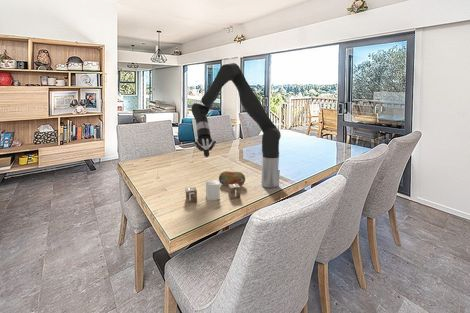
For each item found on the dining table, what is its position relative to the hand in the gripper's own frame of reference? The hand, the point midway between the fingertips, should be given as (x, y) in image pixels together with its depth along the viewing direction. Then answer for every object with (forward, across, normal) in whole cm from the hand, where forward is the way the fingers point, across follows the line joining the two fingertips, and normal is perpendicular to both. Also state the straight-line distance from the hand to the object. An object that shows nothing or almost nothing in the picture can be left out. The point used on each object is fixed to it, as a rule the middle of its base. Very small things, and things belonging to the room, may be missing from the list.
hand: (207, 156), depth 149 cm
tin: (+14, +14, +11) cm, 23 cm away
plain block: (+24, 0, +1) cm, 24 cm away
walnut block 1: (+25, +11, 0) cm, 27 cm away
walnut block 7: (+25, -11, 0) cm, 28 cm away
